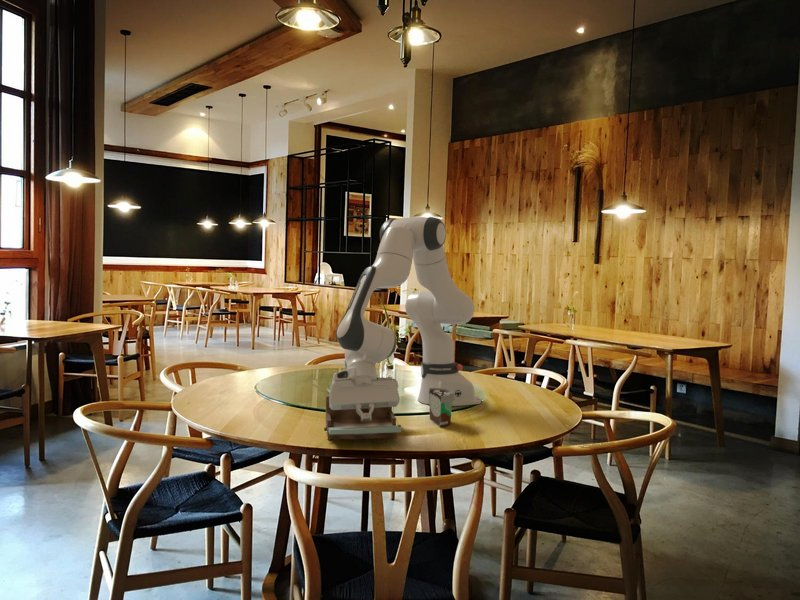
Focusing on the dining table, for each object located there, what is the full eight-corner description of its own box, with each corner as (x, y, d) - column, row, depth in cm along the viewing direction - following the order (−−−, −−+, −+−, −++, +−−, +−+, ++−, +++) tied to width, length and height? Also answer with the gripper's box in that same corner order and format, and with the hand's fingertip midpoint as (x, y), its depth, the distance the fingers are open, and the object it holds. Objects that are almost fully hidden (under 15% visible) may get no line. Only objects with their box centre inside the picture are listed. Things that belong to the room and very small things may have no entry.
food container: (460, 427, 201) (460, 395, 200) (441, 428, 199) (441, 396, 198) (446, 417, 213) (446, 386, 212) (428, 418, 211) (428, 387, 210)
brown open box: (393, 424, 204) (393, 392, 203) (400, 438, 189) (401, 404, 188) (322, 426, 200) (322, 394, 199) (324, 440, 186) (324, 406, 185)
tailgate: (396, 425, 189) (401, 427, 180) (396, 431, 189) (401, 433, 180) (328, 427, 186) (330, 430, 177) (328, 433, 186) (330, 436, 177)
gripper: (395, 382, 197) (401, 423, 188) (327, 386, 194) (330, 427, 185) (397, 371, 192) (403, 412, 184) (327, 374, 189) (330, 416, 180)
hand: (366, 420), depth 184 cm, fingers closed
